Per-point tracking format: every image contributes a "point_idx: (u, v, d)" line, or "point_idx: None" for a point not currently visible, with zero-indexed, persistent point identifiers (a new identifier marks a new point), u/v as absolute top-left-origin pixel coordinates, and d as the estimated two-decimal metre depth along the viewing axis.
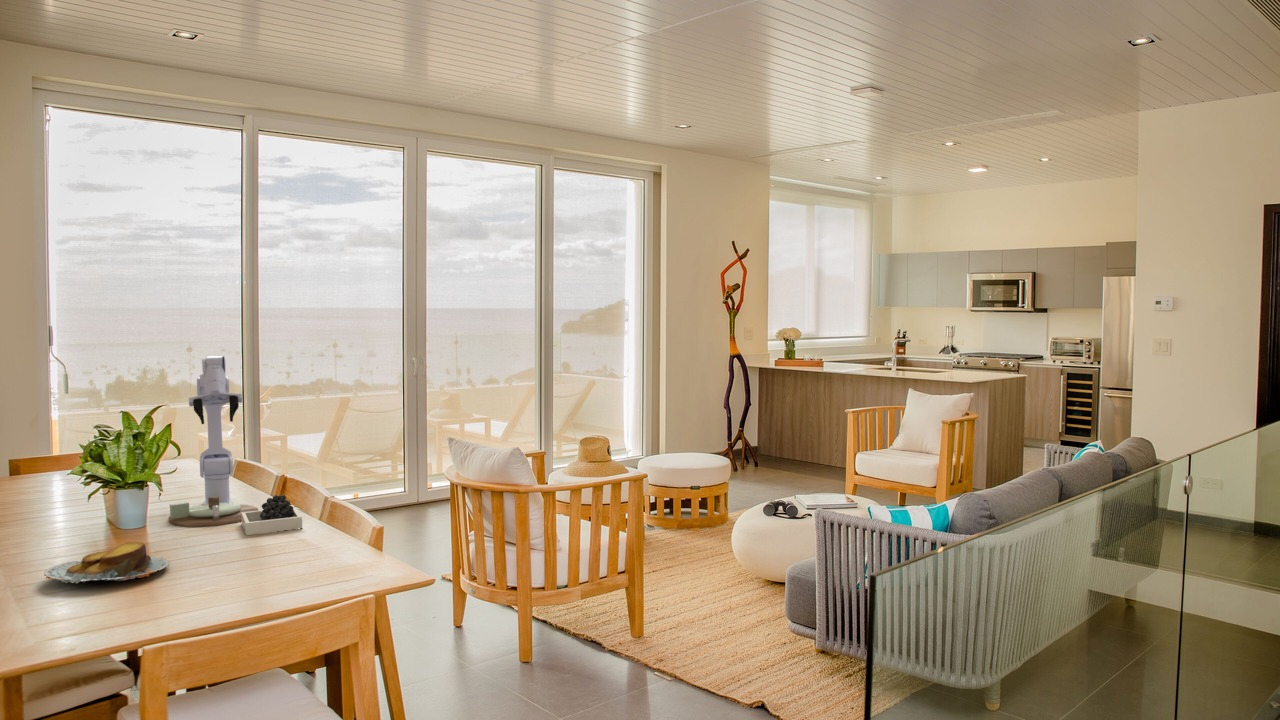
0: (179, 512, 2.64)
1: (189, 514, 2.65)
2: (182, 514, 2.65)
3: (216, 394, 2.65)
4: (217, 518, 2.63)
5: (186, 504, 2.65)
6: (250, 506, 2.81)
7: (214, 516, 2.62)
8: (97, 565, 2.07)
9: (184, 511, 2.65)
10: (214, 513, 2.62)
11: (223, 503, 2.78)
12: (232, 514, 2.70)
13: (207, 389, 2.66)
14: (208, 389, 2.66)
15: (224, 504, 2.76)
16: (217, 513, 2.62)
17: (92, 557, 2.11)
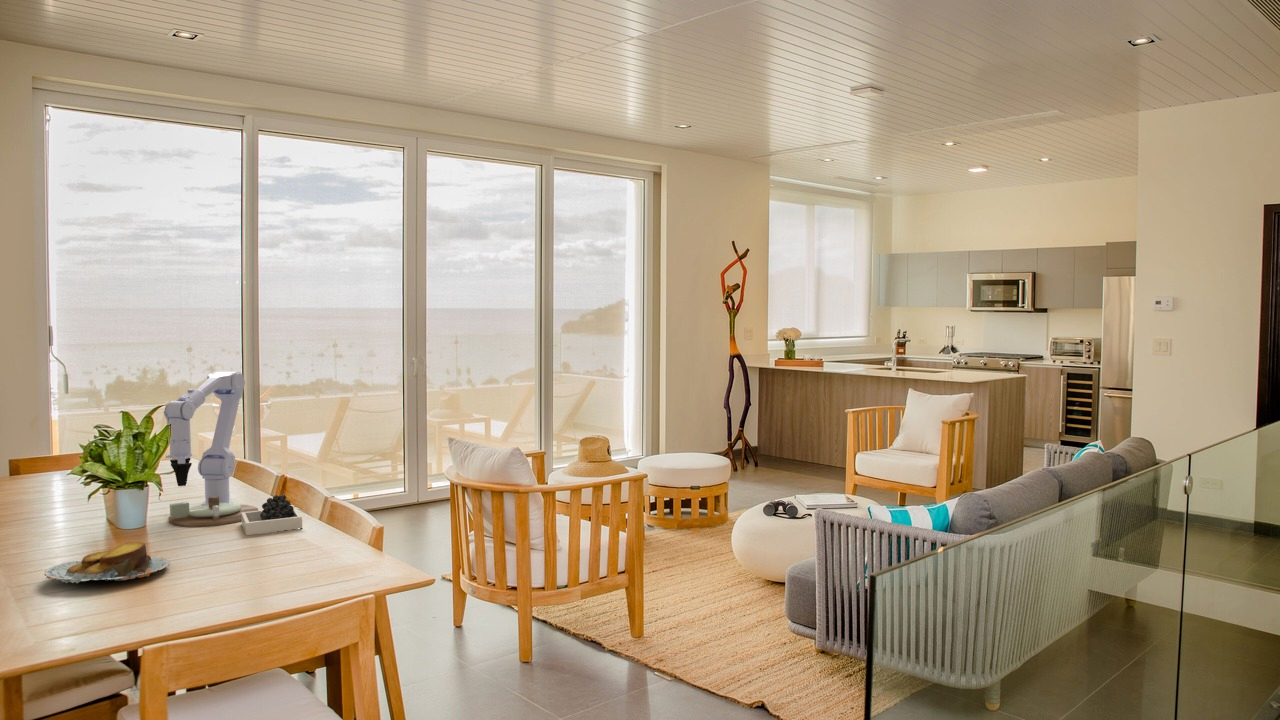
0: (179, 512, 2.64)
1: (189, 514, 2.65)
2: (182, 514, 2.65)
3: None
4: (217, 518, 2.63)
5: (186, 504, 2.65)
6: (250, 506, 2.81)
7: (214, 516, 2.62)
8: (97, 565, 2.07)
9: (184, 511, 2.65)
10: (214, 513, 2.62)
11: (223, 503, 2.78)
12: (232, 514, 2.70)
13: None
14: None
15: (224, 504, 2.76)
16: (217, 513, 2.62)
17: (93, 557, 2.11)
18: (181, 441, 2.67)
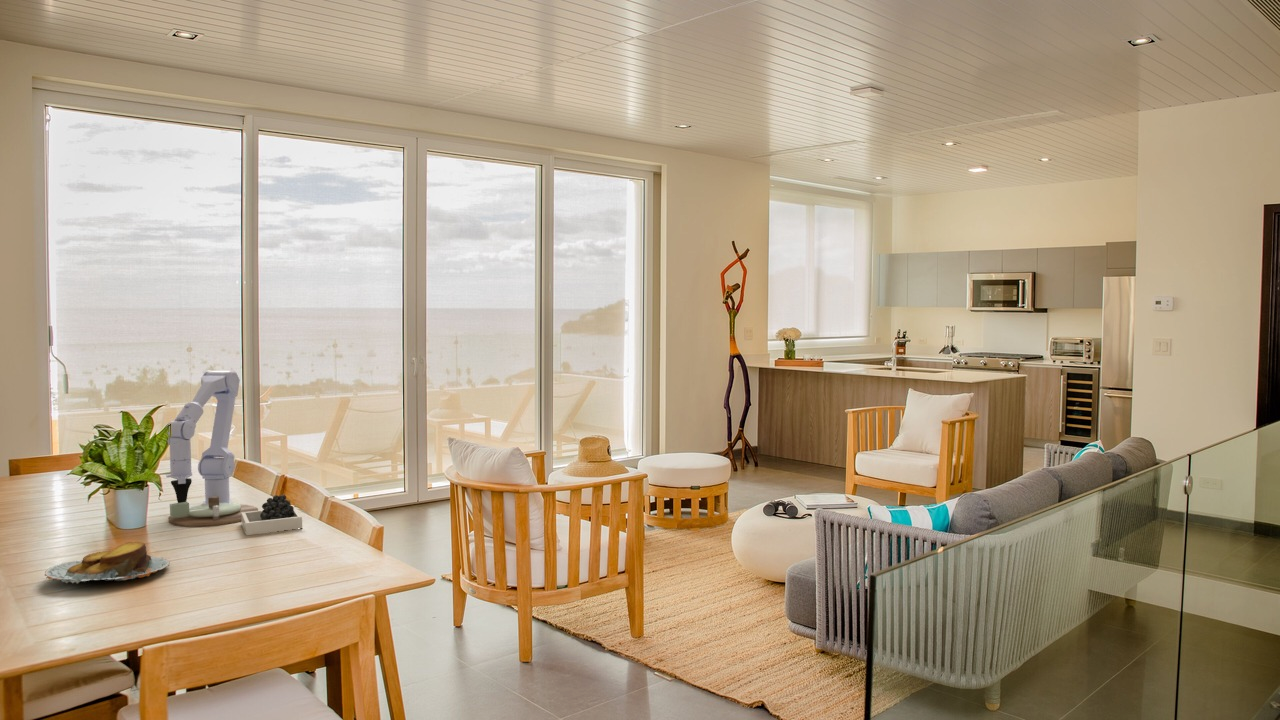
0: (179, 512, 2.64)
1: (189, 514, 2.65)
2: (182, 514, 2.65)
3: None
4: (217, 518, 2.63)
5: (186, 504, 2.65)
6: (250, 506, 2.81)
7: (214, 516, 2.62)
8: (97, 565, 2.07)
9: (184, 511, 2.65)
10: (214, 513, 2.62)
11: (223, 503, 2.78)
12: (232, 514, 2.70)
13: None
14: None
15: (224, 504, 2.76)
16: (217, 513, 2.62)
17: (93, 557, 2.11)
18: (181, 461, 2.67)
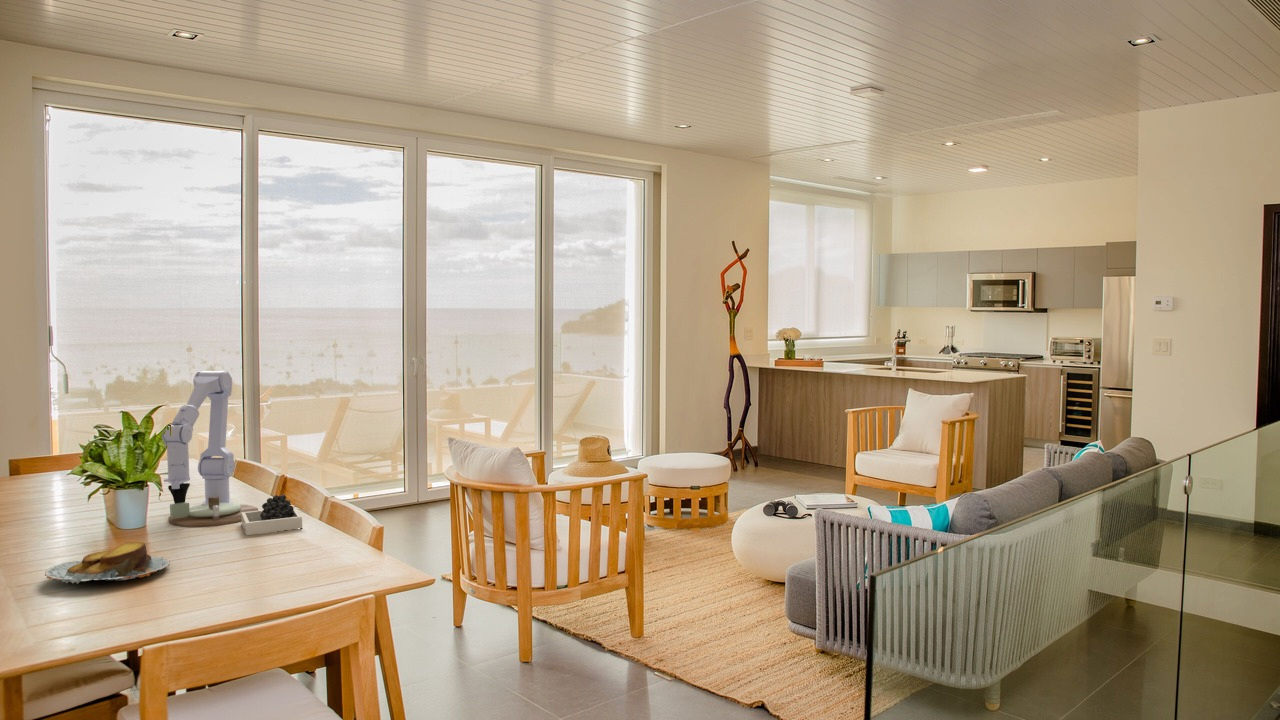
0: (179, 512, 2.64)
1: (189, 514, 2.65)
2: (182, 514, 2.65)
3: None
4: (217, 518, 2.63)
5: (187, 504, 2.65)
6: (250, 506, 2.81)
7: (214, 516, 2.62)
8: (97, 565, 2.07)
9: (184, 511, 2.65)
10: (214, 513, 2.62)
11: (223, 503, 2.78)
12: (232, 514, 2.70)
13: None
14: None
15: (224, 504, 2.76)
16: (217, 513, 2.62)
17: (93, 557, 2.11)
18: (177, 465, 2.64)
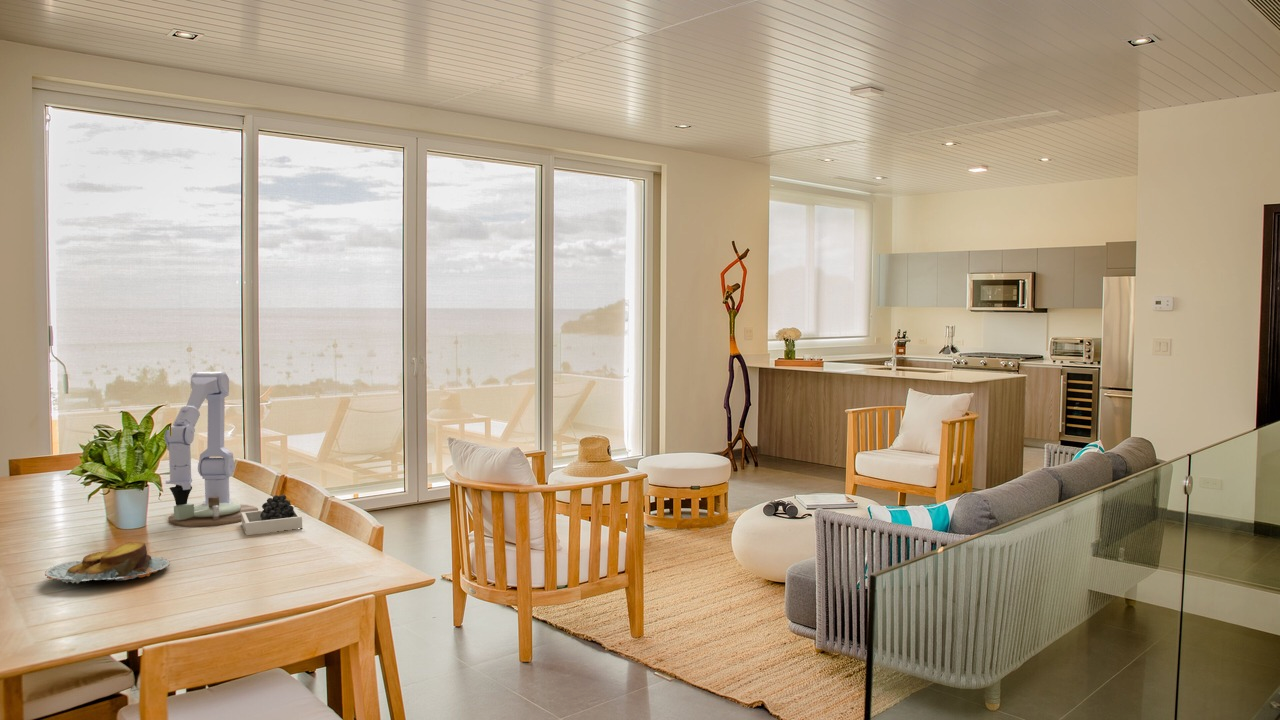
0: (185, 513, 2.62)
1: (194, 515, 2.64)
2: (188, 515, 2.63)
3: None
4: (217, 518, 2.63)
5: (191, 505, 2.64)
6: (250, 506, 2.81)
7: (214, 516, 2.62)
8: (98, 565, 2.07)
9: (189, 512, 2.63)
10: (214, 513, 2.62)
11: None
12: (232, 514, 2.70)
13: None
14: None
15: (219, 504, 2.76)
16: (217, 513, 2.62)
17: (93, 557, 2.11)
18: (183, 466, 2.62)
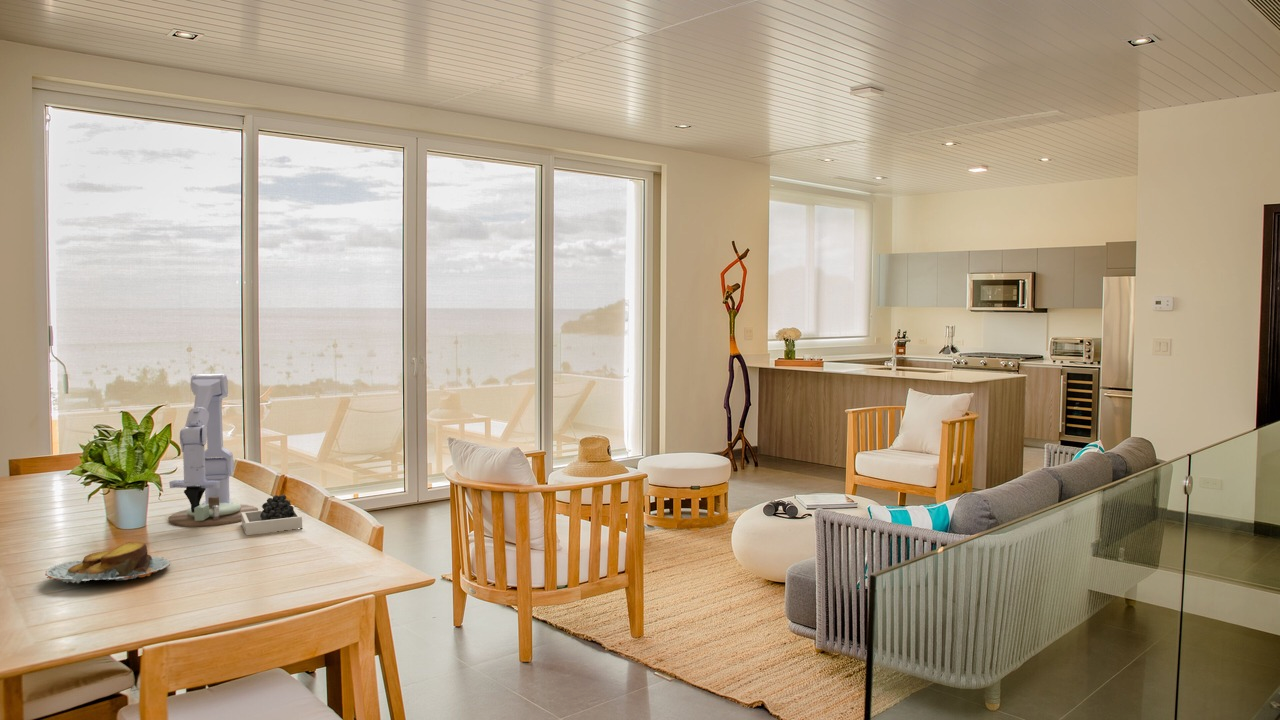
0: (205, 514, 2.62)
1: (211, 515, 2.64)
2: (206, 516, 2.62)
3: None
4: (217, 518, 2.63)
5: (208, 505, 2.63)
6: (250, 506, 2.81)
7: (214, 516, 2.62)
8: (98, 565, 2.07)
9: (207, 513, 2.63)
10: (214, 513, 2.62)
11: None
12: (232, 514, 2.70)
13: (184, 476, 2.59)
14: (184, 477, 2.59)
15: None
16: (217, 513, 2.62)
17: (93, 557, 2.11)
18: (203, 467, 2.61)
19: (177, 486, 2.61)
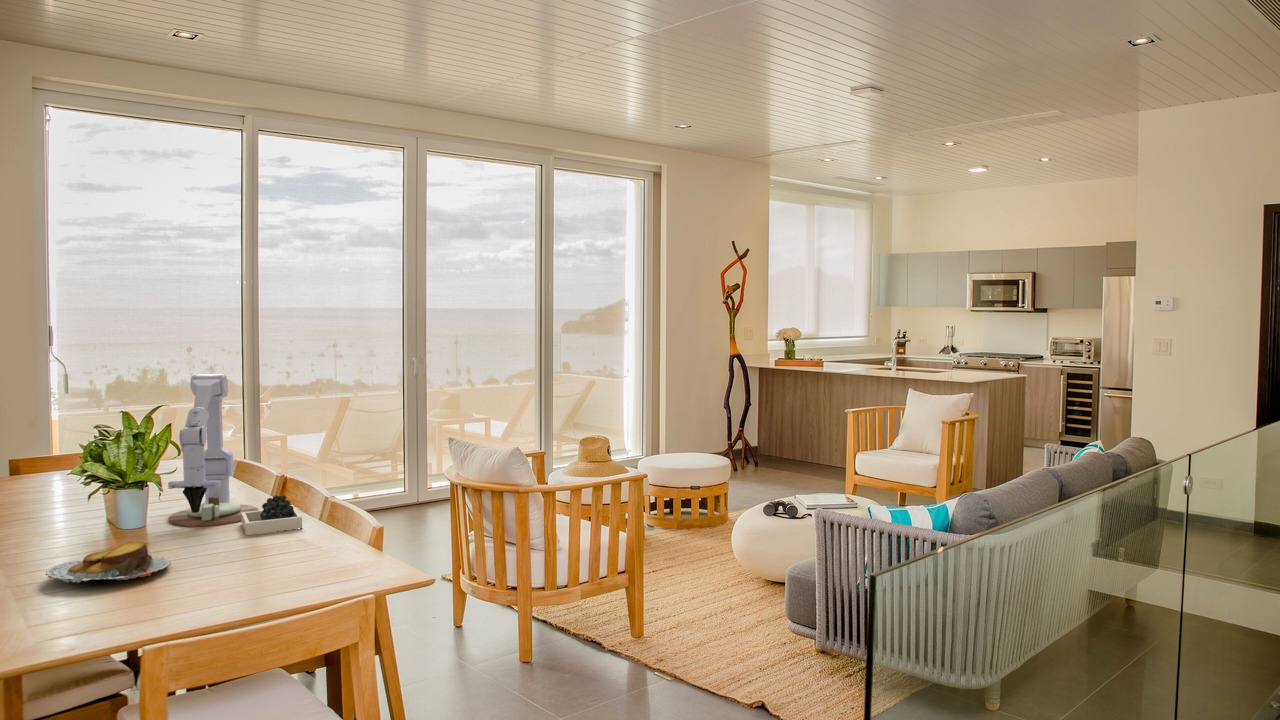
0: (212, 513, 2.62)
1: None
2: (212, 515, 2.63)
3: None
4: (217, 518, 2.63)
5: (213, 505, 2.64)
6: (250, 506, 2.81)
7: (214, 516, 2.62)
8: (98, 564, 2.07)
9: (212, 512, 2.63)
10: (214, 513, 2.62)
11: None
12: (232, 514, 2.70)
13: (184, 477, 2.59)
14: (184, 477, 2.59)
15: None
16: (217, 513, 2.62)
17: (94, 557, 2.12)
18: (204, 467, 2.62)
19: (176, 487, 2.61)
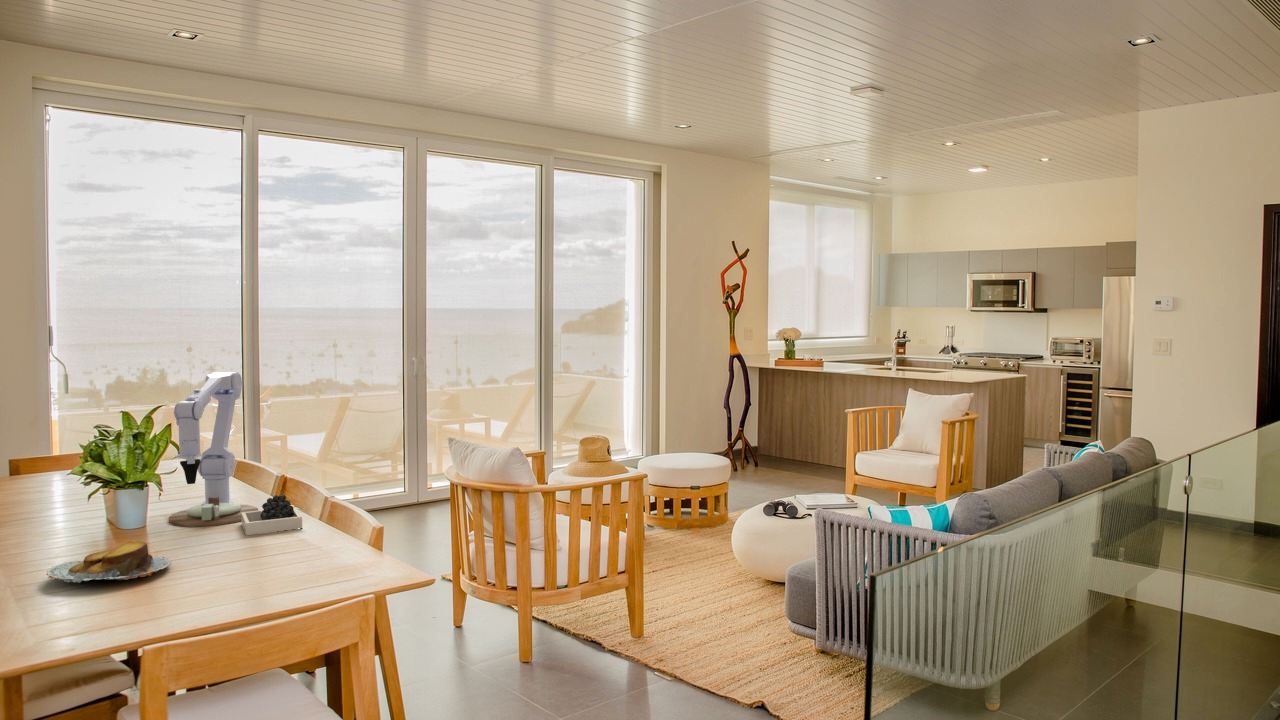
0: (212, 513, 2.62)
1: None
2: (212, 515, 2.63)
3: None
4: (217, 518, 2.63)
5: (213, 505, 2.64)
6: (250, 506, 2.81)
7: (214, 516, 2.62)
8: (99, 564, 2.08)
9: (212, 512, 2.63)
10: (214, 513, 2.62)
11: (199, 506, 2.74)
12: (232, 514, 2.70)
13: None
14: None
15: None
16: (217, 513, 2.62)
17: (94, 557, 2.12)
18: (190, 441, 2.67)
19: None
